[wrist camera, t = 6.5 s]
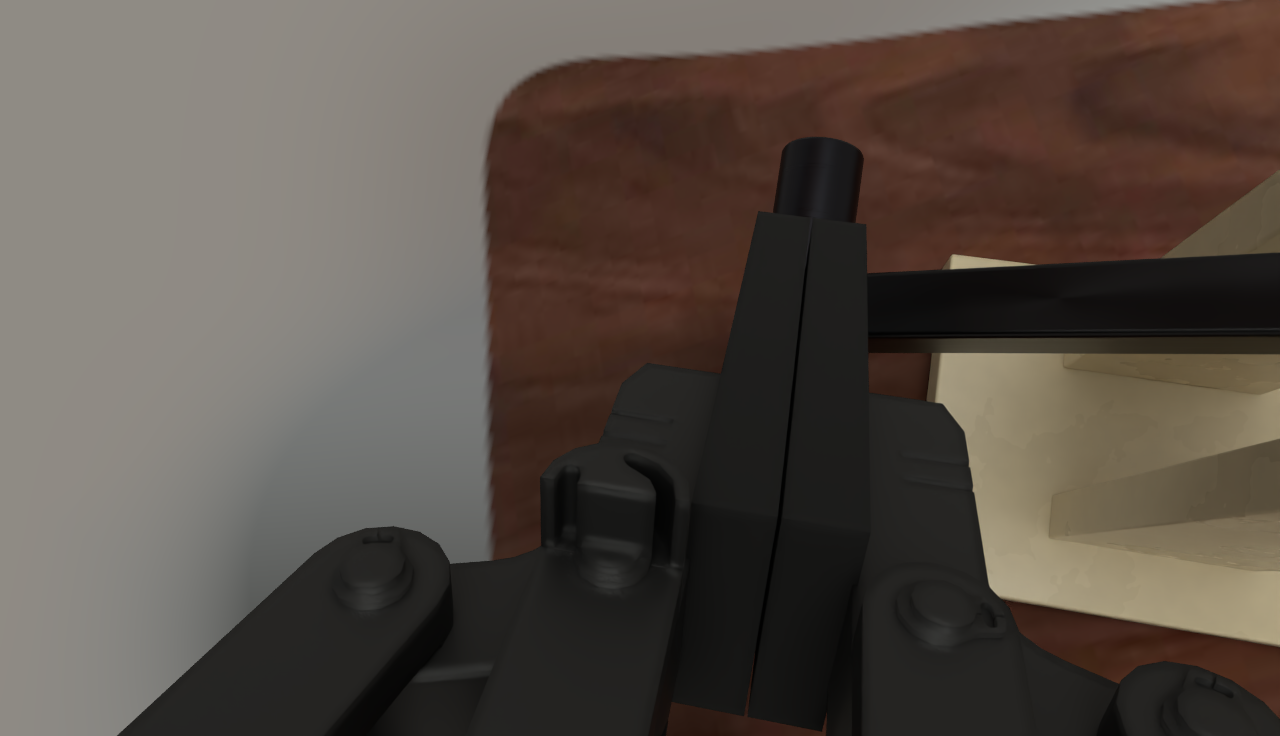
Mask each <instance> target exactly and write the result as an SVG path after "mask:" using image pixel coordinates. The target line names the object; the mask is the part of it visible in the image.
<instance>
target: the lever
mask: <svg viewBox="0 0 1280 736" xmlns="http://www.w3.org/2000/svg"><path fill="white" fill-rule="evenodd" d="M863 162H864V158H863V155H862V153H861V151H860V150H859V149H858V148H856V147H855V146H853V145H851V144H849V143H847V142H844V141H842V140H838V139H833V138H827V137H807V138H801V139H797V140H794V141H792V142H790V143H788V144H787V145H786V146H785V147H784V149H783V151H782V157H781V163H780V170H779V176H778V183H777V190H776V196H775V203H774V209H773V213H777V214H785V215H793V216H801V217H809V218H810V228H809V237H808V246H807V254H808V248H809V242H810V235H811V229H812V223H813V218H817V219H826V220H834V221H842V222H850V223H855V222H856V215H857V207H858V199H859V192H860V184H861V177H862V169H863ZM806 260H807V255H806ZM805 266H806V264H805ZM867 308H868V353H1052V354H1280V252H1278V253H1258V254H1239V255H1219V256H1200V257H1180V258H1160V259H1141V260H1121V261H1102V262H1082V263H1062V264H1043V265H1023V266H1004V267H984V268H965V269H945V270H925V271H906V272H886V273H867Z"/></svg>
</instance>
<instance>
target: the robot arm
mask: <svg viewBox="0 0 1280 736" xmlns="http://www.w3.org/2000/svg"><path fill="white" fill-rule="evenodd" d="M809 228H810V218H809V217H801V216H793V215H785V214H777V213H768V212H760V211H758V215H757V220H756V224H755V228H754V233H753V237H752V241H751V246H750V250H749V255H748V259H747V263H746V268H745V272H744V276H743V281H742V285H741V289H740V294H739V298H738V302H737V307H736V311H735V315H734V320H733V324H732V328H731V333H730V337H729V342H728V346H727V350H726V355H725V359H724V363H723V368H722V372H721V374H718V373H712V372H705V371H698V370H691V369H684V368H678V367H671V366H664V365H657V364H650V363H647V364H645V365H644V366H643V367H642V368H640V369H639V370H638V371H637V372H635V373H634V374H633V375H632V376H630V377H629V378H628V379H627V380H625V381H624V382H623V383H622V385H621V387H620V390H619V393H618V395H617V398H616V400H615V403H614V405H613V408H612V413H611V414H610V416H609V418H608V421H607V424H606V426H605V429H604V433H603V436H601V439H600V442H599V443H598V444H593V445H589V446H584V447H579V448H575V449H573V450H571V451H570V452H568V453H566V454H564V455H562V456H561V457H559V458H557V459H555V460H553V462H552V463H551V464H550V466H549V467H548V468H547V469H546V471H545V472H544V473H543V474H542V476H541V477H540V494H541V546H540V547H539V548H537V549H535V550H533V551H530V552H527V553H525V554H522V555H519V556H516V557H512V558H506V559H500V560H494V561H482V562H469V563H456V564H450V562H449V560H448V558H447V557H446V555H445V553H444V552H443V550H442V548H441V547H440V545H439V544H438V543H437V542H435V541H433V540H432V539H430V538H429V537H427V536H425V535H424V534H422V533H421V532H418V531H413V530H408V529H404V528H399V527H394V526H393V527H378V528H365V529H362V530H359V531H357V532H354V533H350V534H347V535H345V536H342V537H339V538H337V539H335V540H334V541H332V542H331V543H329V544H328V545H326V546H325V547H323V548H322V549H320V550H319V551H317V552H316V553H314V554H313V555H312V556H311V557H310V558H309V559H308V560H307V561H306V562H305V563H303V565H301V566H300V567H299V568H298V569H297V570H296V571H295V572H294V573H293V574H292V575H290V576H289V577H288V578H287V579H286V580H285V581H284V582H283V583H282V584H281V585H280V586H279V587H278V588H277V589H275V590H274V591H273V592H272V593H271V594H270V595H269V596H268V597H267V598H266V599H265V600H263V601H262V602H261V603H260V604H259V605H258V606H257V607H256V608H255V609H254V610H253V611H252V612H250V614H248V615H247V616H246V617H245V618H244V619H243V620H242V621H241V622H240V623H239V624H237V625H236V626H235V627H234V628H233V629H232V630H231V631H230V632H229V633H228V634H227V635H226V636H224V637H223V638H222V639H221V640H220V641H219V642H218V643H217V644H216V645H215V646H214V647H213V648H212V649H210V650H209V651H208V652H207V653H206V654H205V655H204V656H203V657H202V658H201V659H200V660H199V661H197V662H196V663H195V664H194V665H193V666H192V667H191V668H190V669H189V670H188V671H187V672H186V673H184V675H182V677H180V678H179V679H178V680H177V681H176V682H175V683H174V684H173V685H171V686H170V687H169V688H168V689H167V690H166V691H165V692H164V693H163V694H162V695H161V696H160V697H159V698H157V699H156V700H155V701H154V702H153V703H152V704H151V705H150V706H149V707H148V708H147V709H145V711H143V712H142V713H141V714H140V715H139V716H138V717H137V718H136V719H135V720H134V721H133V722H132V723H130V724H129V725H128V726H127V727H126V728H125V729H124V730H123V731H122V732H121V733H120V734H119V735H117V736H666V735H667V725H668V717H669V712H670V707H671V702H675V703H680V704H685V705H690V706H695V707H701V708H706V709H711V710H716V711H721V712H726V713H731V714H736V715H741V716H744V712H745V706H746V700H747V694H748V688H749V682H750V677H751V671H752V665H753V659H754V666H753V675H752V683H751V692H750V700H749V709H748V717H751V718H756V719H761V720H766V721H771V722H777V723H782V724H787V725H792V726H797V727H802V728H807V729H812V730H817V731H822V729H823V725H824V721H825V716H826V712H827V730H826V736H1280V719H1279V718H1278V717H1277V716H1276V715H1275V714H1274V713H1273V711H1272V710H1271V709H1270V708H1269V707H1268V706H1267V705H1266V704H1265V703H1264V702H1263V701H1261V700H1260V699H1258V698H1257V697H1255V696H1254V695H1252V694H1251V693H1249V692H1248V691H1247V690H1245V689H1244V688H1242V687H1241V686H1239V685H1238V684H1236V683H1235V682H1233V681H1232V680H1230V679H1227V678H1225V677H1222V676H1220V675H1217V674H1215V673H1213V672H1210V671H1208V670H1205V669H1203V668H1200V667H1198V666H1193V665H1186V664H1180V663H1173V662H1167V661H1163V662H1158V663H1152V664H1147V665H1142V666H1138V667H1137V668H1135V669H1134V670H1133V671H1132V672H1131V673H1129V674H1128V675H1127V676H1126V677H1125V678H1124V679H1122V680H1121V682H1120V684H1118V683H1115V682H1113V681H1111V680H1108V679H1106V678H1104V677H1101V676H1099V675H1097V674H1094V673H1092V672H1090V671H1087V670H1085V669H1083V668H1080V667H1078V666H1076V665H1073V664H1071V663H1069V662H1066V661H1064V660H1062V659H1060V658H1059V657H1057V656H1055V655H1053V654H1051V653H1049V652H1047V651H1045V650H1043V649H1041V648H1040V647H1039V646H1037V645H1036V644H1035V643H1033V642H1032V641H1030V640H1029V639H1028V638H1026V637H1025V636H1024V635H1022V634H1021V633H1020V632H1019V630H1018V627H1017V625H1016V623H1015V620H1014V618H1013V616H1012V613H1011V611H1010V608H1009V607H1008V606H1007V605H1006V604H1005V603H1004V602H1003V601H1002V600H1001V598H1000V597H999V596H998V595H997V594H996V593H995V592H994V591H993V590H992V589H991V588H990V586H989V582H988V575H987V569H986V563H985V557H984V550H983V544H982V538H981V531H980V525H979V519H978V513H977V506H976V500H975V494H974V492H973V491H972V490H973V481H972V475H971V468H970V467H969V456H968V450H967V443H966V437H965V432H964V430H963V429H962V428H961V426H960V425H959V424H958V423H957V421H956V420H955V419H954V417H953V416H952V415H951V414H950V412H949V411H948V410H947V408H946V407H945V406H944V405H943V404H942V403H935V402H928V401H922V400H915V399H908V398H901V397H894V396H888V395H881V394H874V393H869V377H868V308H867V240H866V224H858V223H850V222H842V221H834V220H826V219H817V218H813V223H812V229H811V235H810V242H809V248H808V254H807V246H808V237H809ZM806 255H807V260H806ZM805 264H806V266H805ZM755 647H756V649H755ZM754 653H755V658H754Z"/></svg>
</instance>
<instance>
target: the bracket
mask: <svg viewBox="0 0 1280 736" xmlns="http://www.w3.org/2000/svg"><path fill="white" fill-rule="evenodd" d="M1278 252H1280V170H1278V171H1277V172H1276V173H1274V174H1273V175H1272V176H1270V177H1269V178H1268V179H1266V180H1265V181H1264V182H1262V183H1261V184H1260V185H1258V186H1257V187H1256V188H1254V189H1253V190H1252V191H1250V192H1249V193H1247V194H1246V195H1245V196H1243V197H1242V198H1241V199H1239V200H1238V201H1237V202H1235V203H1234V204H1233V205H1231V206H1230V207H1229V208H1227V209H1226V210H1225V211H1223V212H1222V213H1221V214H1219V215H1218V216H1217V217H1215V218H1214V219H1213V220H1211V221H1210V222H1209V223H1207V224H1206V225H1205V226H1203V227H1202V228H1201V229H1199V230H1198V231H1196V232H1195V233H1194V234H1192V235H1191V236H1190V237H1188V238H1187V239H1186V240H1184V241H1183V242H1182V243H1180V244H1179V245H1178V246H1176V247H1175V248H1174V249H1172V250H1171V251H1170V252H1168V253H1167V254H1166V255H1164V256H1163V257H1162V258H1180V257H1200V256H1219V255H1239V254H1258V253H1278ZM1023 265H1034V264H1026V263H1018V262H1010V261H1002V260H994V259H986V258H978V257H970V256H962V255H951V256H950V258H949V259H948V261H947V262H946V264H945V265H944V267H943V268H942V270H945V269H965V268H984V267H1004V266H1023ZM927 401H928V402H935V403H942V404H943V405H944V406H945V407H946V408H947V410H948V411H949V412H950V414H951V415H952V416H953V417H954V419H955V420H956V421H957V423H958V424H959V425H960V426H961V428H962V429H963V430H964V432H965V437H966V443H967V450H968V456H969V467H970V468H971V475H972V481H973V490H972V491H973V492H974V494H975V500H976V506H977V513H978V519H979V525H980V531H981V538H982V544H983V550H984V557H985V563H986V569H987V575H988V582H989V586H990V588H991V589H992V590H993V591H994V592H995V593H996V594H997V595H998V596H999V597H1000V598H1001V599H1003V600H1008V601H1014V602H1020V603H1026V604H1032V605H1038V606H1043V607H1049V608H1055V609H1061V610H1067V611H1072V612H1078V613H1084V614H1090V615H1096V616H1102V617H1107V618H1113V619H1119V620H1125V621H1131V622H1136V623H1142V624H1148V625H1154V626H1160V627H1165V628H1171V629H1177V630H1183V631H1189V632H1195V633H1200V634H1206V635H1212V636H1218V637H1224V638H1229V639H1235V640H1241V641H1247V642H1253V643H1258V644H1264V645H1270V646H1276V647H1280V354H1052V353H932V358H931V366H930V375H929V384H928V393H927Z"/></svg>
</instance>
